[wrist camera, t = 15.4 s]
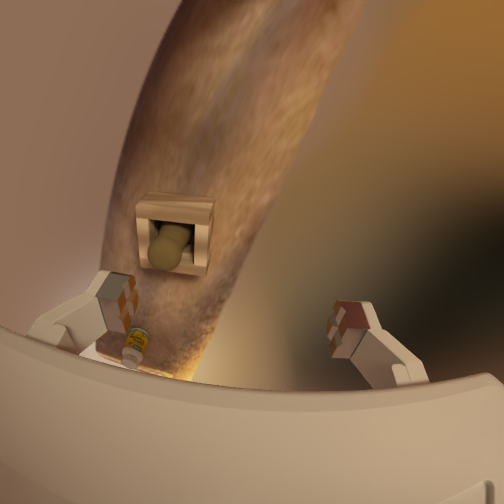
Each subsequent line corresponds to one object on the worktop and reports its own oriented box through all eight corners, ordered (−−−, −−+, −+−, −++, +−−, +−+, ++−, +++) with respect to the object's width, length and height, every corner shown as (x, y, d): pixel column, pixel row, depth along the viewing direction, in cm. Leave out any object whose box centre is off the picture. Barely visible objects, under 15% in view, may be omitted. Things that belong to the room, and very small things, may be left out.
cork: (168, 241, 50) (149, 278, 40) (159, 210, 46) (135, 244, 37) (200, 237, 49) (186, 276, 40) (192, 206, 46) (175, 239, 37)
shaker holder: (148, 191, 44) (135, 205, 39) (215, 197, 45) (209, 213, 40) (151, 248, 51) (140, 267, 46) (211, 256, 51) (205, 276, 46)
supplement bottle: (129, 336, 66) (118, 365, 57) (130, 324, 63) (118, 354, 55) (149, 343, 66) (139, 373, 58) (151, 331, 64) (140, 362, 56)
